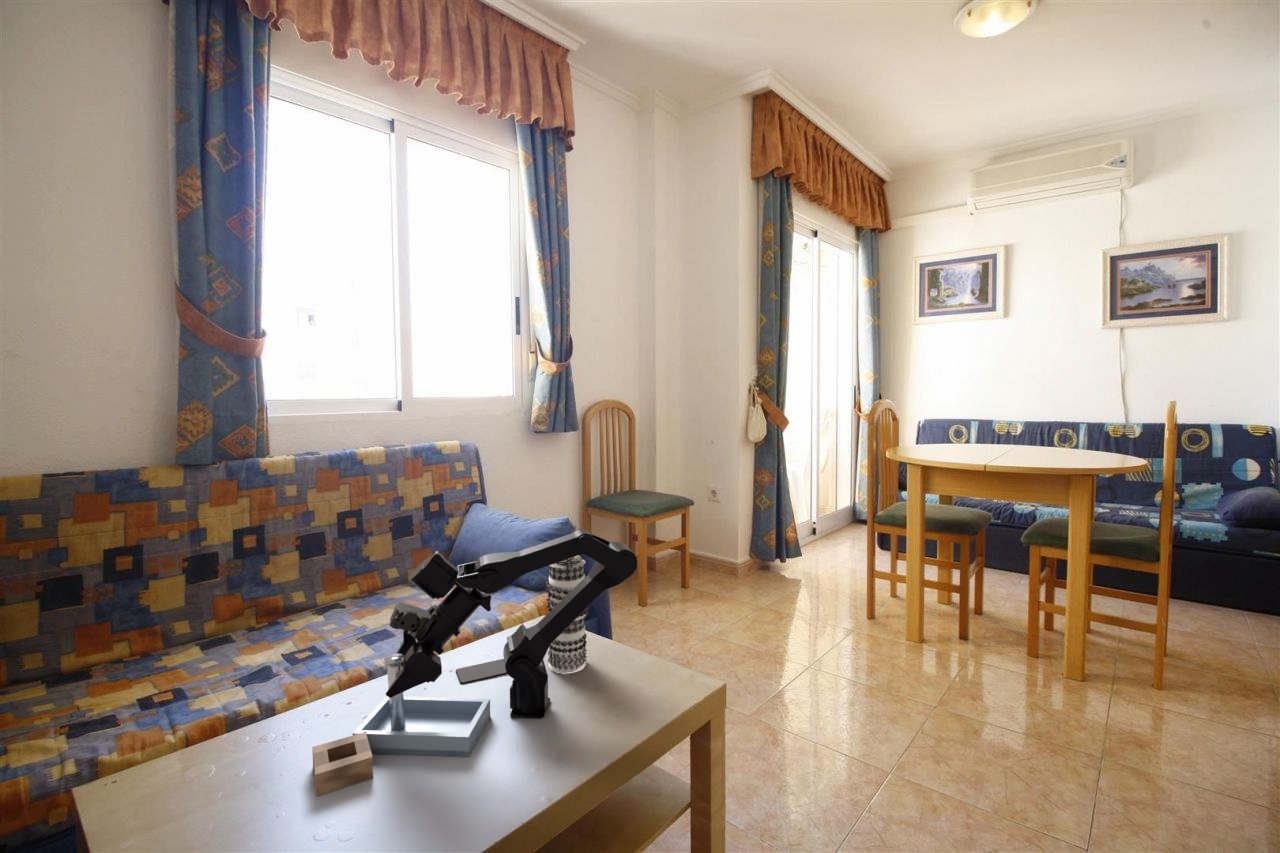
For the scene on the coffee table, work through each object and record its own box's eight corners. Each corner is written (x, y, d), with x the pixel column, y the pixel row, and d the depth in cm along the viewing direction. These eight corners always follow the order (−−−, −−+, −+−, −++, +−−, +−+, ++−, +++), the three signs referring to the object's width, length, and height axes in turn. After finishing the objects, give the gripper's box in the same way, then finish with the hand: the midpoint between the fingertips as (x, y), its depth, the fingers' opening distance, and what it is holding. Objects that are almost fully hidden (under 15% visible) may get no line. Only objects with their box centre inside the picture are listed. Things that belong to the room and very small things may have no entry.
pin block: (366, 751, 101) (365, 731, 100) (373, 777, 94) (372, 756, 94) (313, 767, 96) (312, 747, 96) (316, 796, 90) (315, 774, 89)
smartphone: (455, 668, 129) (522, 654, 136) (455, 672, 129) (522, 658, 136) (460, 683, 123) (530, 667, 129) (460, 687, 123) (530, 671, 130)
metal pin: (411, 723, 107) (407, 654, 106) (400, 733, 104) (396, 662, 103) (396, 721, 108) (391, 653, 107) (384, 731, 105) (380, 661, 104)
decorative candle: (544, 658, 135) (543, 551, 133) (584, 653, 137) (584, 548, 135) (548, 677, 126) (547, 563, 124) (591, 672, 128) (590, 560, 126)
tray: (490, 716, 111) (490, 698, 111) (468, 756, 99) (468, 736, 99) (387, 713, 112) (386, 696, 112) (353, 753, 100) (352, 733, 100)
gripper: (416, 572, 114) (355, 636, 111) (418, 605, 97) (346, 683, 93) (459, 606, 118) (401, 669, 114) (469, 644, 100) (401, 720, 97)
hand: (388, 683), depth 105 cm, fingers open, 9 cm apart
